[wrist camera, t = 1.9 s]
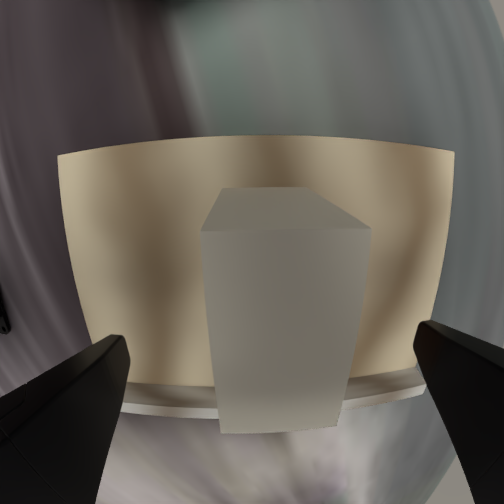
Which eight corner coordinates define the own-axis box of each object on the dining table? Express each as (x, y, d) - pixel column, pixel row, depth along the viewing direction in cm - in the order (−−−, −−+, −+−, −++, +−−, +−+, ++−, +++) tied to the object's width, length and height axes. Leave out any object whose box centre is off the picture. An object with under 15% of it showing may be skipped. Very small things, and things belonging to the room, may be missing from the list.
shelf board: (113, 382, 19) (101, 410, 17) (66, 155, 14) (36, 158, 11) (405, 371, 20) (421, 396, 17) (444, 150, 15) (475, 154, 12)
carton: (228, 317, 17) (221, 433, 9) (222, 188, 14) (199, 231, 7) (305, 314, 17) (343, 424, 9) (311, 187, 14) (381, 228, 7)
